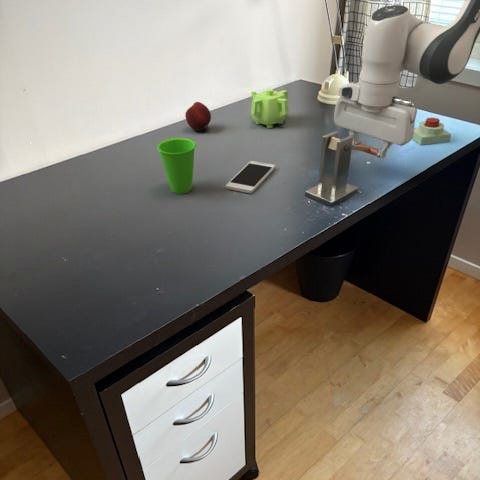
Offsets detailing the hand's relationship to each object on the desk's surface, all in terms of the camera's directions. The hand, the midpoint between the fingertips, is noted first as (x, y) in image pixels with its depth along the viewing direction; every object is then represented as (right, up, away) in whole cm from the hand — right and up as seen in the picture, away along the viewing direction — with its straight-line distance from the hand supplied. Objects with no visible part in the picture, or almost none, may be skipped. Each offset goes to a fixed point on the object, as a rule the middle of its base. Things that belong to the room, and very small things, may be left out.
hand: (368, 152), depth 116 cm
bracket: (-9, -11, -2) cm, 14 cm away
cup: (-46, -9, +2) cm, 47 cm away
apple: (-44, +18, +31) cm, 56 cm away
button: (+23, +14, +18) cm, 33 cm away
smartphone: (-28, -5, +5) cm, 29 cm away
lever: (-5, -2, -5) cm, 8 cm away
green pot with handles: (-22, +21, +34) cm, 46 cm away
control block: (+23, +11, +21) cm, 33 cm away
